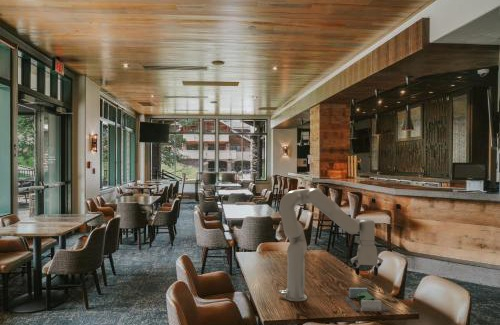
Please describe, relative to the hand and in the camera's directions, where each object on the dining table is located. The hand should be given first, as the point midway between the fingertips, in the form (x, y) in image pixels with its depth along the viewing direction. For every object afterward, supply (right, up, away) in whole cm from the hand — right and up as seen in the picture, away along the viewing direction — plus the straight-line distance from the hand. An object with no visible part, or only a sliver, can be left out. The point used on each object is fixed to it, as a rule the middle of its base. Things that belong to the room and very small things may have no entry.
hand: (366, 275), depth 220 cm
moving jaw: (-1, -16, +13) cm, 21 cm away
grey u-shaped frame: (0, -16, 0) cm, 16 cm away
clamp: (0, -17, 0) cm, 17 cm away
